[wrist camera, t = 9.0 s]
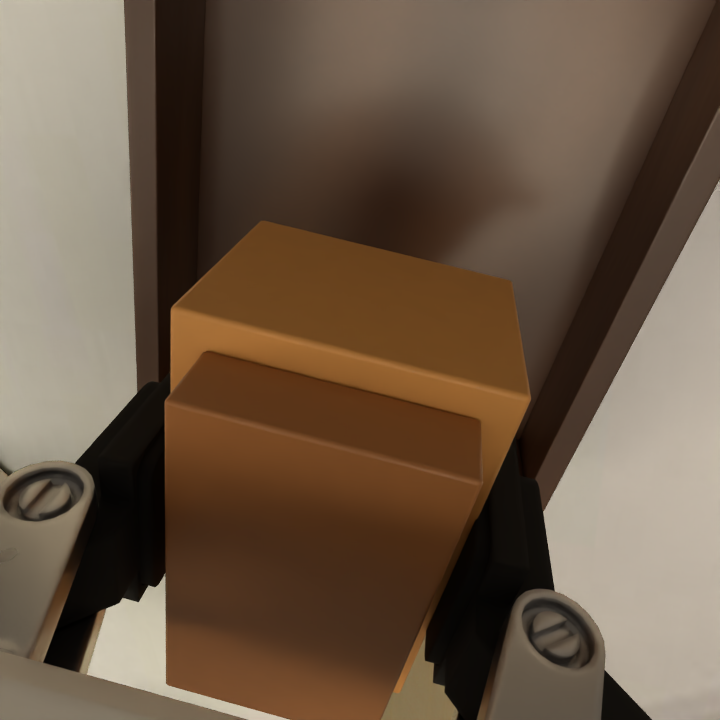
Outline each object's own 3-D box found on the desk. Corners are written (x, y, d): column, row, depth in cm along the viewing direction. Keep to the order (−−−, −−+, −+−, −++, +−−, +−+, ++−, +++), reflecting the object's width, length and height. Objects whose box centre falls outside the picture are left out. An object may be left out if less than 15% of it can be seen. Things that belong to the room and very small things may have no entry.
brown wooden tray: (180, 361, 23) (137, 413, 20) (196, -519, 11) (97, -721, 8) (530, 448, 22) (541, 516, 19) (920, -379, 11) (1100, -538, 8)
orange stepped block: (235, 496, 14) (138, 693, 10) (260, 218, 10) (118, 353, 6) (415, 543, 14) (393, 764, 10) (513, 279, 10) (544, 462, 6)
